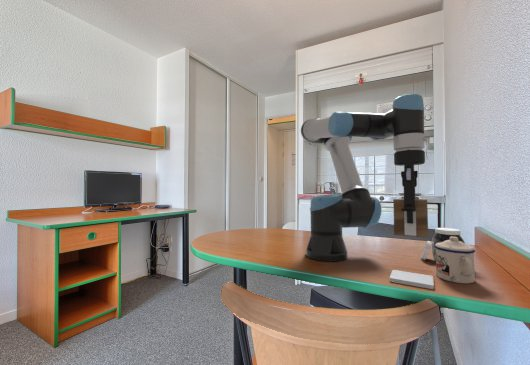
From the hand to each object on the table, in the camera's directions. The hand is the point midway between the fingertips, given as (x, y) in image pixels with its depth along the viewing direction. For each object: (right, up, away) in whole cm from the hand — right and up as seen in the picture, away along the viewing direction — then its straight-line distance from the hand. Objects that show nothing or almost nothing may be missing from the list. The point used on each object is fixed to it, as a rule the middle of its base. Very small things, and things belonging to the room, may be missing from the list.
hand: (410, 233), depth 68 cm
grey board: (0, -13, -1) cm, 13 cm away
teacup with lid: (+13, -13, -1) cm, 18 cm away
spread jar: (+20, -13, +16) cm, 29 cm away
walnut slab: (0, 0, 0) cm, 0 cm away
